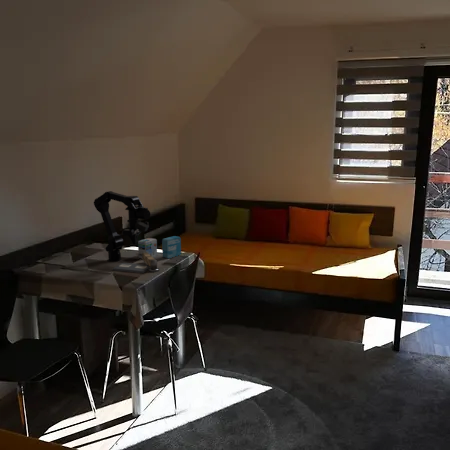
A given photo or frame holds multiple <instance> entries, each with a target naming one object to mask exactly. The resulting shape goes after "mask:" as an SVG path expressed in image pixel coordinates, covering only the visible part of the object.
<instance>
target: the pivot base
mask: <svg viewBox="0 0 450 450" xmlns="http://www.w3.org/2000/svg"><path fill="white" fill-rule="evenodd" d="M148 272H150V273H157V272H160V267H157V269H151V268H149V270H148Z"/></svg>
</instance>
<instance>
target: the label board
mask: <svg viewBox="0 0 450 450" xmlns="http://www.w3.org/2000/svg"><path fill="white" fill-rule="evenodd" d="M149 268H151V267H150V266H149V265H148V264H143V263H133V262H130V263H129V262H122V263H119V264H118V265H116V266H114V267H112V271H114V272H115V271H117V272H128V273H137V274H138V273H139V274H144V273H146V272H149Z"/></svg>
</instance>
